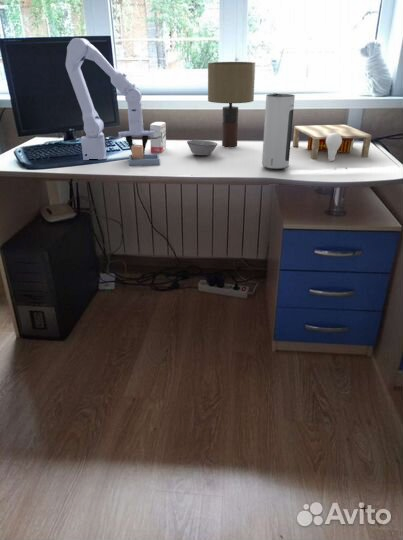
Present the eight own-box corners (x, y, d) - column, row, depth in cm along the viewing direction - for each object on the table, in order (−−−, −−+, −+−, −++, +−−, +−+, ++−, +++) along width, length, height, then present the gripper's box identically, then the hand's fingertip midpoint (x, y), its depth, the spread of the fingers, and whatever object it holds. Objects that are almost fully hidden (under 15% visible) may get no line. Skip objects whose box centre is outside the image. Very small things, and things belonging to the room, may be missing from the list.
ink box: (161, 153, 185) (160, 124, 179) (150, 152, 186) (148, 124, 180) (167, 149, 192) (165, 121, 187) (156, 148, 193) (154, 121, 188)
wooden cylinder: (132, 162, 168) (131, 147, 165) (132, 160, 172) (131, 145, 169) (144, 162, 168) (142, 147, 165) (144, 159, 172) (142, 144, 169)
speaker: (282, 170, 158) (288, 95, 146) (257, 166, 163) (260, 94, 151) (292, 164, 166) (299, 92, 154) (268, 161, 171) (272, 91, 159)
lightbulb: (339, 160, 172) (343, 132, 166) (338, 163, 167) (342, 134, 161) (323, 159, 173) (327, 131, 168) (322, 162, 168) (326, 134, 163)
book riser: (312, 158, 174) (314, 136, 170) (292, 145, 196) (294, 126, 192) (367, 156, 176) (371, 135, 172) (342, 144, 199) (344, 124, 195)
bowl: (180, 153, 179) (181, 141, 177) (196, 149, 189) (196, 138, 187) (207, 157, 173) (208, 145, 171) (221, 154, 184) (222, 142, 182)
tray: (129, 165, 166) (128, 160, 165) (129, 160, 174) (129, 155, 173) (159, 164, 167) (159, 159, 166) (159, 159, 175) (158, 154, 174)
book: (307, 150, 190) (308, 138, 187) (312, 144, 200) (314, 133, 197) (349, 153, 183) (351, 142, 181) (352, 147, 193) (354, 136, 191)
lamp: (258, 144, 200) (263, 62, 183) (238, 152, 185) (241, 63, 168) (221, 140, 209) (222, 61, 193) (199, 147, 194) (198, 63, 178)
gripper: (116, 122, 166) (120, 157, 173) (153, 121, 168) (155, 156, 174) (117, 119, 173) (121, 153, 179) (153, 118, 174) (155, 152, 180)
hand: (138, 154), depth 177 cm, fingers closed on block, 4 cm apart
